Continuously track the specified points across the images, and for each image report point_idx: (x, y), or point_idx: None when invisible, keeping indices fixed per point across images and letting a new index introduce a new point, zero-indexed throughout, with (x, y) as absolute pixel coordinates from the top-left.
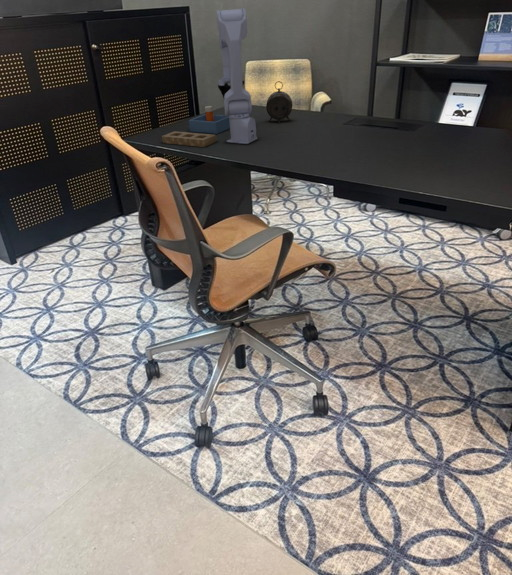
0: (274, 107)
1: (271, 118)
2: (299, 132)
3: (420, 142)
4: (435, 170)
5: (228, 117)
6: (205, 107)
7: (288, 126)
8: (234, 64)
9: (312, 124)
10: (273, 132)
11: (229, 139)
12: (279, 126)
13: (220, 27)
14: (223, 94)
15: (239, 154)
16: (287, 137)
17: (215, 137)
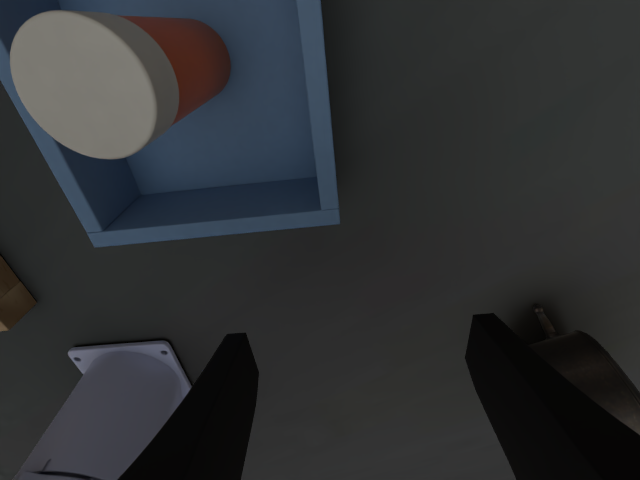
0: None
1: (542, 327)
2: (361, 456)
3: None
4: None
5: (293, 227)
6: (15, 73)
7: (441, 404)
8: None
9: (491, 446)
10: (325, 403)
11: (94, 350)
12: (433, 380)
13: None
14: (171, 448)
15: (26, 441)
16: (284, 455)
17: (16, 320)
